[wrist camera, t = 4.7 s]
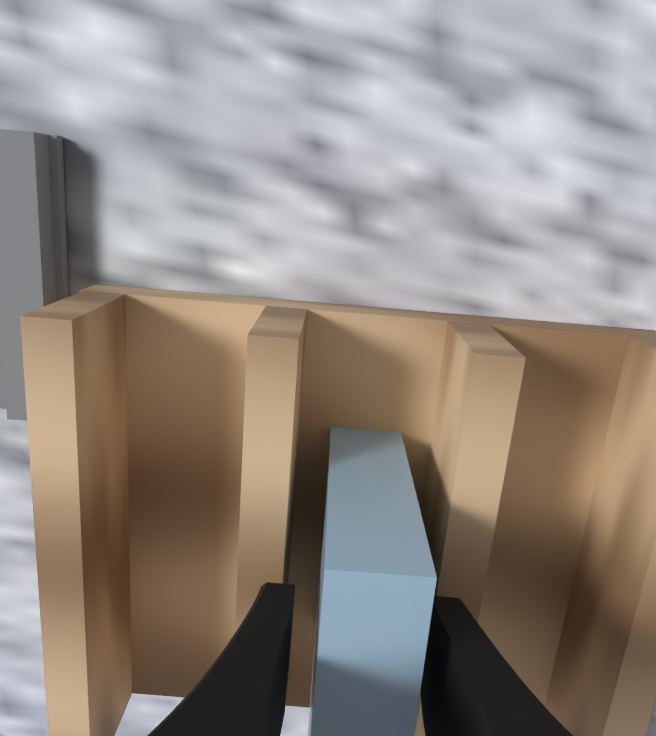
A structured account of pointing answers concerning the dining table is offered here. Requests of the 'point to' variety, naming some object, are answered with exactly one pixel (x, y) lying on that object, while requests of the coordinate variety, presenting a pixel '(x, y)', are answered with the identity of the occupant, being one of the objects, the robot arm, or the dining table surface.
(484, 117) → the dining table surface
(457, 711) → the robot arm
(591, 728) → the rack
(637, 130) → the dining table surface
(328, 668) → the plate
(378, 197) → the dining table surface
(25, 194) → the holder
